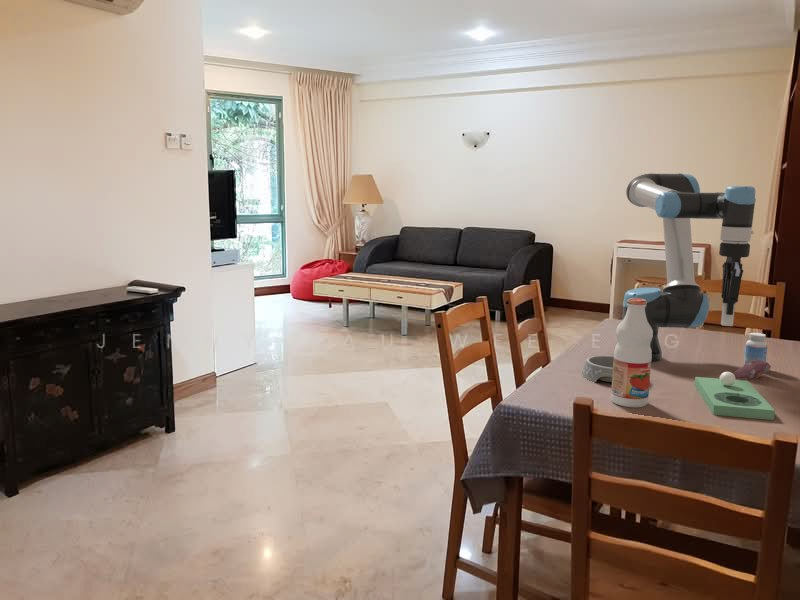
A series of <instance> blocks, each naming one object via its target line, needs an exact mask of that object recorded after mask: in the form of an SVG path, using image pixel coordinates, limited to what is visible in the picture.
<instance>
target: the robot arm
mask: <svg viewBox="0 0 800 600" xmlns="http://www.w3.org/2000/svg"><path fill="white" fill-rule="evenodd" d="M625 192H626V193H625V195H626V198H627V200H628V201H629V203H630V204H632V205H634V206H636V207H638V208H639V207H640V208H649V209H652V210H654V211H655V213H656V215H657V217H658V218H662V225H663V238H664V239H663V240H664V253H665V256H664V257H665V267H666V268H665V269H666V282H667V283H666V285H664V287H663V288H662V289H661V288H658V287H637V288H631V289H629V290H627V291H626V292H625V293H624V296H623V302H622V316H621V317H622V318H621V322H622V321H623V319H624V317H625V315H626V312H627V309H628V305H627V299H628V298H640V299H645V300H647V305H646V307H645V314H646V318H647V321H648V323H649V324H650V326H651V328H652V330H653V337H652V340H651V343H650V348H651V351H652V360H651V363H656V362H661V361H662V357H663V352H662V348H661V344H660V341H659V340H660V339H659V328H676V329H677V328H682V329H683V328H684V329H689V328H691V329H692V328H699V327H701V326H702V325H704V323H705V321H706V319H707V317H708V314H709V309H710V300H709V297H708V295H707V294H706V293H704V292H701V285H699V284H698V283H696V280H695V278H696V277H695V268H694V266H695V265H694V254H693V241H692V240H693V239H692V228H691V227H692V225H691V219H699V220H700V219H702V220H705V219H707V220H722V224H721V229H720V230H721V231H720V240H721V241H722V242H720V243H719V251H718V253H719V256H721V257H726V260H725V262H724V261H723V262H724V263H723V264H722V281H721V283H722V285H721V299H722V309H721V318H720V325H721V326H725V327H734V320H735V307H736V303H738V301H739V295H740V289H741V283H742V277H743V274H744V269H743V263H742V262H741V261H742V260H741V258H748V257H749V256H750V251H751V244H750V243H749V242H751V238H752V235H753V234H755V233H754V232H755V231H754V230H753V224H754V223H753V222H754V221H753V220H754V216H755V215H754V214H755V204H756V188H755V187H754V186H746V185H744V186H743V185H736V186H735V185H733V186H731V185H729V186H727V187H726V188H725V191H724V192H701V188H700V184H699V182H698V180H697V178H696V177H695V176H694V175H691V174H687V173H653V172H651V173H644V174H640V175H639V176H636V177H634V178H633V179H632V180H631V181H630V182H629V183H628V185H627V187H626V191H625ZM616 345H617V343H616V344H615V346H616Z"/></svg>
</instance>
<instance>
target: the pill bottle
mask: <svg viewBox="0 0 800 600" xmlns="http://www.w3.org/2000/svg"><path fill="white" fill-rule="evenodd" d="M766 337H767V335H766V334H764V333H761V332H750V333H749V335H748V338H749V339H748V340H747V341H746V342H745V350H744V359H743V366H744V365H746V364H748V363H749V362H752V361H755V360H761V361H763V360H764V361H765V362H767V354H768V353H767V352H768V343H767V342H766V341H765V340H766V339H767V338H766Z"/></svg>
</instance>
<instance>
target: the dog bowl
mask: <svg viewBox="0 0 800 600" xmlns="http://www.w3.org/2000/svg"><path fill="white" fill-rule="evenodd" d="M613 361H614V355H593V356H590V357H587V358H586V361H585V363H584V366H583V370H582V373H581V376H582V375H583V377H584V378H586V379H587V380H586V379H585V380H586V381H588V380H589V381H588V382H590V381H592V382H591V383H593V382H594V383H593V384H595V383H596V382H597V381H598V380H600V381H603V382H608V383H612V375H613ZM583 377H582V378H583ZM584 378H583V379H584Z"/></svg>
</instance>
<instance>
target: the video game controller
mask: <svg viewBox="0 0 800 600" xmlns="http://www.w3.org/2000/svg"><path fill="white" fill-rule="evenodd" d="M771 367H772V365H770V363H769V362H767V361H766V362H765V361H764V360H763V361H761V360H755V361H752V362H749V363H748V364H746V365H744V364H743V366H742V367H739V368H738V369H736V370H734V372H733V374H734V376H735V378H737V379H740V378H744V377H747V379H748V380H751V379H753V378H754V377H755V378H756V377H759V378H761V376H762V375H764V374H766V373H768V372H769V371H770V369H771ZM750 378H751V379H750Z"/></svg>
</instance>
